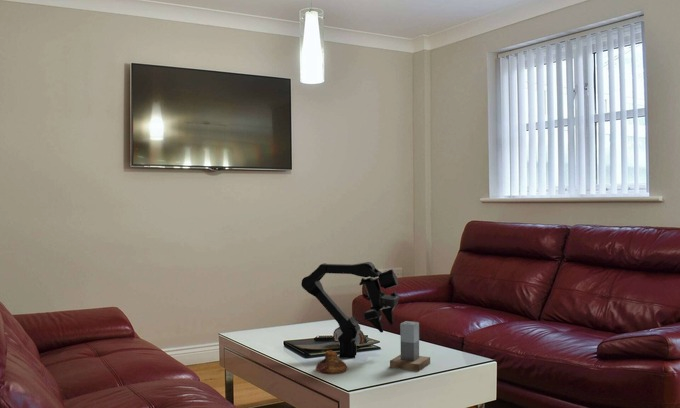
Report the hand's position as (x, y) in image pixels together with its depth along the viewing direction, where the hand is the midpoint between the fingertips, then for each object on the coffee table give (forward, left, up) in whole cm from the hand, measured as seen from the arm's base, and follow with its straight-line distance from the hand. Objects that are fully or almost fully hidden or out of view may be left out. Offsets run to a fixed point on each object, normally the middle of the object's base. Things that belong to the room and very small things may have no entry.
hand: (387, 328), depth 254 cm
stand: (+9, -12, -12) cm, 19 cm away
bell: (-21, -19, -12) cm, 31 cm away
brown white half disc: (-17, +19, -12) cm, 28 cm away
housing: (+9, -12, -9) cm, 17 cm away
